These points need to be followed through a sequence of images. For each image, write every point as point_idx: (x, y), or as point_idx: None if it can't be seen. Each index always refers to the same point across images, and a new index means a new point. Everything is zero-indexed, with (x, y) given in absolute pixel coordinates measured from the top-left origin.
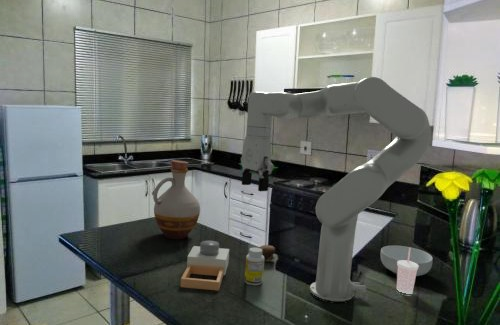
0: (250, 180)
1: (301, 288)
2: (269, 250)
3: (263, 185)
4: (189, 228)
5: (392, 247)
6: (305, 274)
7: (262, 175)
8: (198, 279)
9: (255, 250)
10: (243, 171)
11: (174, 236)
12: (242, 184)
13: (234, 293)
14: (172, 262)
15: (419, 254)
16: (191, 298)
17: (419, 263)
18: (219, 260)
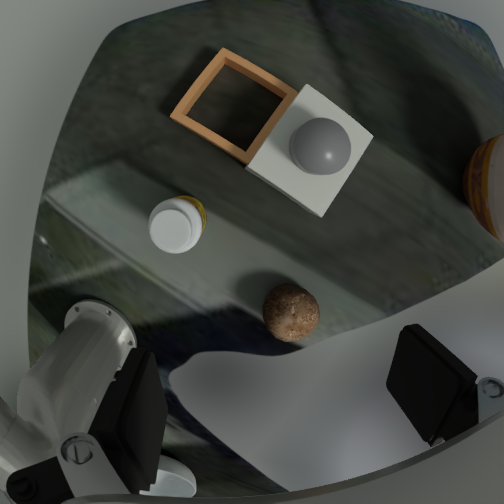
0: (400, 399)
1: (128, 299)
2: (271, 319)
3: (105, 399)
4: (470, 198)
5: (193, 490)
6: (188, 347)
7: (57, 456)
8: (202, 78)
9: (163, 225)
10: (477, 389)
11: (465, 168)
12: (408, 325)
13: (148, 148)
14: (356, 93)
15: (167, 494)
16: (165, 60)
17: None
18: (257, 151)
